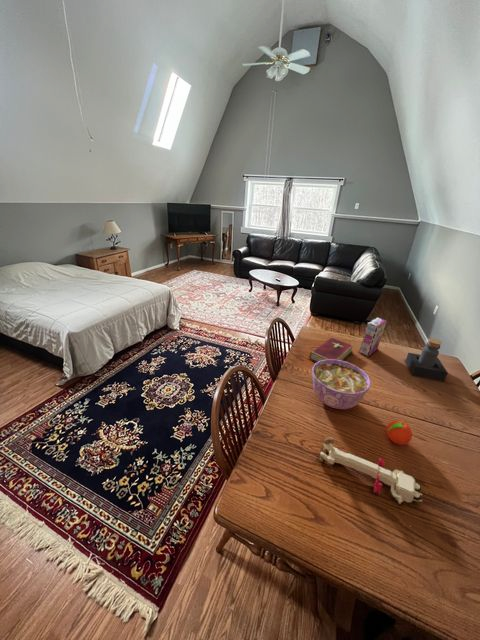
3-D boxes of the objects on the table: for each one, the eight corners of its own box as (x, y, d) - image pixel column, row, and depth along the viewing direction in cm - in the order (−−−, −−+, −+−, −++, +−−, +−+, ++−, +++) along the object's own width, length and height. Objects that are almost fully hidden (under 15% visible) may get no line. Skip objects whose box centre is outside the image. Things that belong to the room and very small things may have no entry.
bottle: (432, 374, 118) (445, 345, 111) (418, 372, 118) (430, 343, 112) (427, 366, 123) (439, 338, 116) (413, 365, 124) (424, 336, 117)
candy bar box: (368, 357, 128) (377, 326, 121) (358, 352, 132) (366, 322, 125) (378, 349, 135) (387, 320, 128) (368, 345, 139) (376, 316, 132)
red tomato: (390, 451, 81) (397, 434, 78) (376, 433, 87) (382, 416, 84) (413, 448, 82) (421, 431, 79) (397, 430, 88) (403, 413, 85)
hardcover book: (309, 358, 125) (310, 351, 123) (329, 343, 139) (330, 336, 137) (333, 369, 118) (335, 361, 116) (352, 352, 132) (354, 344, 130)
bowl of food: (322, 423, 89) (329, 397, 85) (298, 385, 107) (302, 361, 102) (374, 416, 94) (384, 390, 89) (343, 380, 111) (349, 357, 106)
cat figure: (316, 470, 75) (421, 519, 63) (318, 448, 72) (430, 494, 60) (325, 445, 83) (421, 484, 71) (328, 424, 80) (429, 460, 67)
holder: (434, 365, 124) (437, 357, 122) (444, 381, 113) (448, 372, 112) (405, 360, 127) (408, 352, 125) (412, 375, 116) (415, 366, 115)
